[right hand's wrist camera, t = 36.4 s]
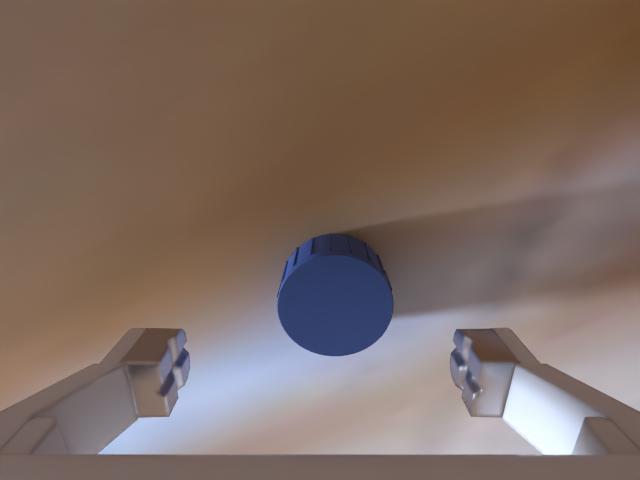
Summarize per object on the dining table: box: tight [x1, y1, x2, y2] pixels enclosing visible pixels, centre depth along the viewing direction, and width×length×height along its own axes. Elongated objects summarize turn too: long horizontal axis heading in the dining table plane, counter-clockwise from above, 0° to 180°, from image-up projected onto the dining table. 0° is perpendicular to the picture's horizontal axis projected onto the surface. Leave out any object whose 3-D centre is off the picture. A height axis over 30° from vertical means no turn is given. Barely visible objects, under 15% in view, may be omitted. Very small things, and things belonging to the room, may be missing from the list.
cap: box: [277, 234, 393, 356], centre depth 15 cm, size 4×5×2 cm
